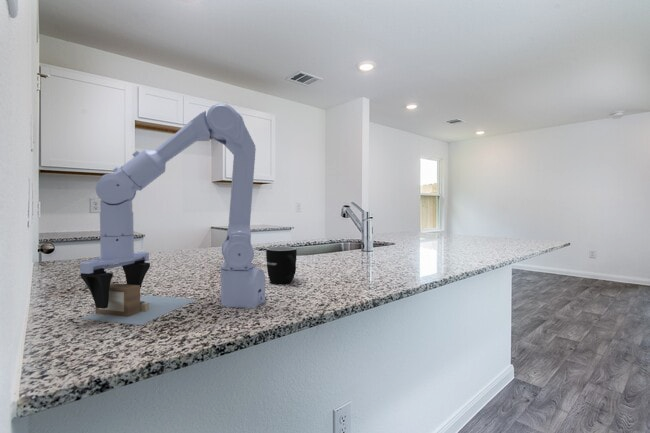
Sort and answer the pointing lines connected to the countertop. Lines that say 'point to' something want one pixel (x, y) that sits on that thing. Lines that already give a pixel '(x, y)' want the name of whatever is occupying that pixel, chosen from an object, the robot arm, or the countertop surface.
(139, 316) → the blue flat mat
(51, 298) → the countertop surface
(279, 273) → the mug
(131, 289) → the brown square box
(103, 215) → the robot arm
